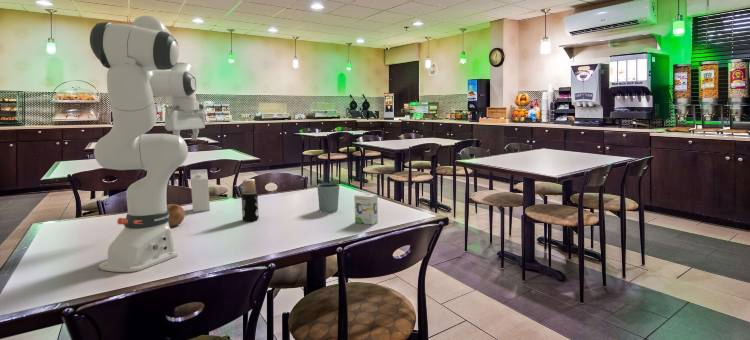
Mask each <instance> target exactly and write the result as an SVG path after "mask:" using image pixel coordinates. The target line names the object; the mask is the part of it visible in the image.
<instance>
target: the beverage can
mask: <svg viewBox="0 0 750 340" xmlns="http://www.w3.org/2000/svg"><path fill="white" fill-rule="evenodd" d="M241 193H242V194H241V214H242V215H241V217H242V218H241V219H242V220H243V222H246V223H248V222H249V223H251V222H256V221H257V220H259V218H260V217H259V197H258V196H259V195H258V192H257V191H256V190H255V193H243V192H241Z"/></svg>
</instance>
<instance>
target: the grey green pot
mask: <svg viewBox="0 0 750 340" xmlns="http://www.w3.org/2000/svg"><path fill="white" fill-rule="evenodd" d="M316 187H317V195H318V210H319V212H320V211H321V212H320V213H323V212H332V213H335V212H334V211H336V212H338V211H337V210H339V198H340V197H339V196H340V184H338V183H319V184H317V185H316Z"/></svg>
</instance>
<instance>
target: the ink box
mask: <svg viewBox="0 0 750 340" xmlns="http://www.w3.org/2000/svg"><path fill="white" fill-rule="evenodd" d="M353 198H354V222H358V223H357V224H362V223H364V225H370V224H371V225H372V226H374V225H375V224H377V223H378V222H379V214H378V213H379V210H378V209H379V208H378V206H379V205H378V195H377V193H375V194H374V193H365V192H359V193H357V194H355V195H354V196H353Z"/></svg>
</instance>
